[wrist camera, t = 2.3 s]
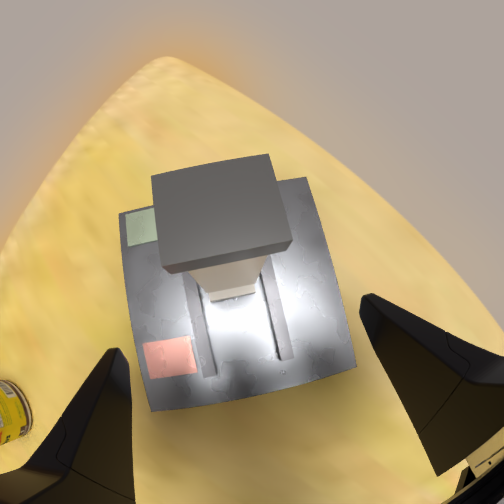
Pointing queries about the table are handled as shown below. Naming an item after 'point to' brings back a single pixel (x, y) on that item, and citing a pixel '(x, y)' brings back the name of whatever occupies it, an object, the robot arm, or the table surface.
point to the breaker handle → (220, 223)
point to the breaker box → (236, 317)
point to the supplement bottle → (13, 413)
